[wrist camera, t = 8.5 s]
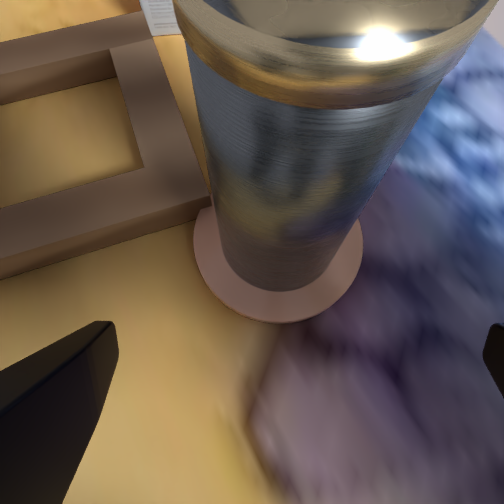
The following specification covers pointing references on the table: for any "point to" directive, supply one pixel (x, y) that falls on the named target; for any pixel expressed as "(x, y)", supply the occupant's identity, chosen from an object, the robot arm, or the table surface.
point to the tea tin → (310, 114)
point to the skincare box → (160, 17)
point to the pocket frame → (113, 188)
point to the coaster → (269, 302)
